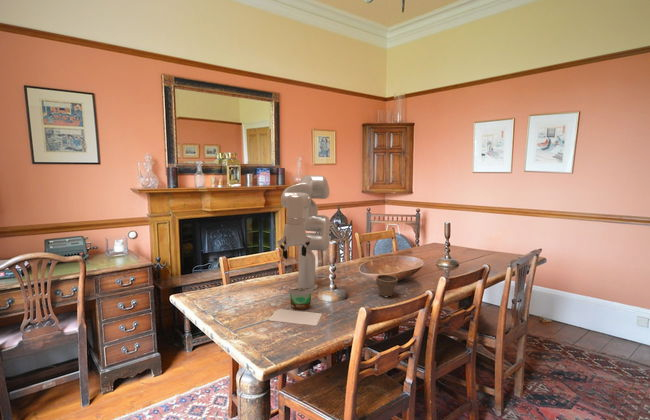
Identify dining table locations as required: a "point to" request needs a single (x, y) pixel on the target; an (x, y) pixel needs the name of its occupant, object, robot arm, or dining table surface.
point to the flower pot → (386, 284)
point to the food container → (300, 298)
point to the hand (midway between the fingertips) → (294, 257)
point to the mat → (296, 317)
